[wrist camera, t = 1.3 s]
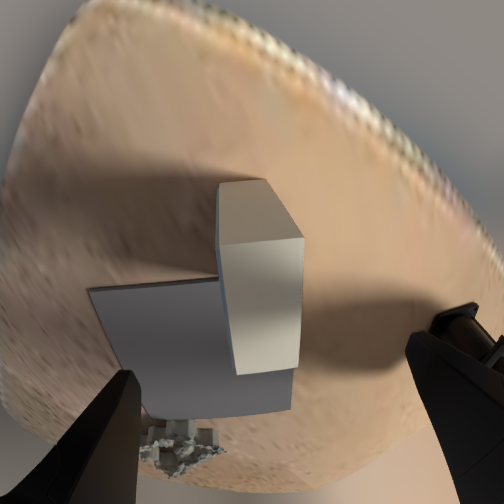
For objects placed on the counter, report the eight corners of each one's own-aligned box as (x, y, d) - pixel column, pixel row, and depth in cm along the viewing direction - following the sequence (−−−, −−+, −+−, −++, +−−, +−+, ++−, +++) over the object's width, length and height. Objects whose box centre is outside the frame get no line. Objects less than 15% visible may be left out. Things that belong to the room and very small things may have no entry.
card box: (266, 178, 16) (304, 237, 9) (269, 272, 19) (298, 367, 12) (216, 183, 16) (214, 245, 9) (226, 276, 19) (233, 375, 12)
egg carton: (169, 454, 31) (168, 480, 27) (122, 432, 27) (118, 460, 24) (230, 434, 28) (233, 464, 25) (181, 408, 25) (179, 443, 22)
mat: (295, 269, 19) (297, 272, 19) (289, 406, 26) (290, 409, 26) (90, 288, 18) (88, 292, 18) (152, 416, 25) (151, 419, 25)
